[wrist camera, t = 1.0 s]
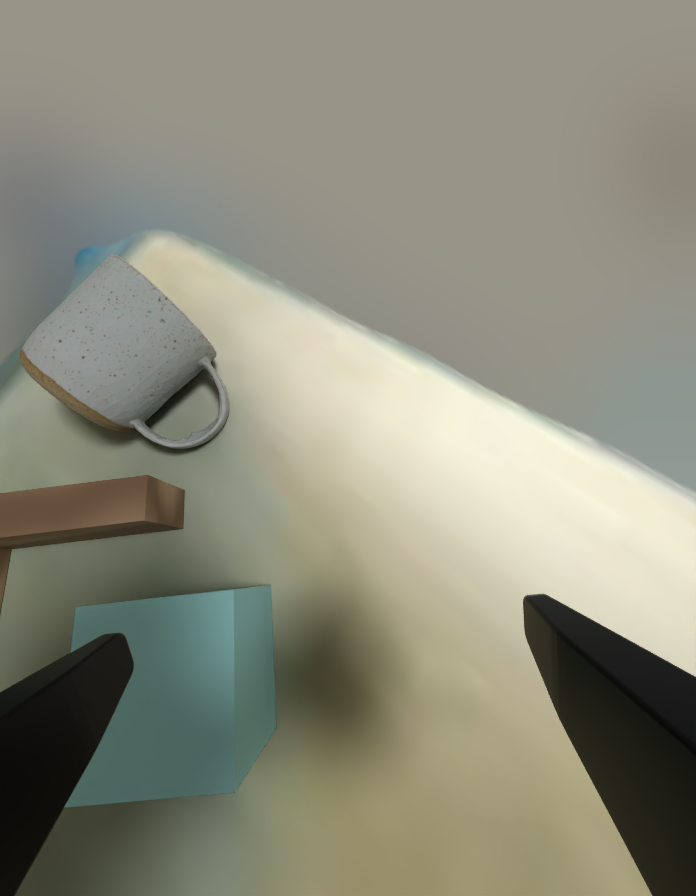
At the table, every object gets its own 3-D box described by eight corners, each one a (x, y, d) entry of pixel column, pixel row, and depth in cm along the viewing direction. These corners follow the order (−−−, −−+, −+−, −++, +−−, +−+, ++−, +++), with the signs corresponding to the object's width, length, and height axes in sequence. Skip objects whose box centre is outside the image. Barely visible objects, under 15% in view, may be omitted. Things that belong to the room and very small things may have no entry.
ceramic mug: (80, 392, 26) (-31, 326, 19) (165, 314, 28) (92, 226, 21) (178, 484, 24) (93, 449, 17) (265, 394, 26) (222, 325, 18)
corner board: (172, 841, 18) (118, 913, 14) (-90, 863, 19) (-210, 939, 15) (184, 490, 24) (147, 475, 20) (-18, 515, 24) (-92, 504, 20)
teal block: (276, 727, 19) (234, 792, 14) (145, 739, 20) (51, 808, 14) (271, 584, 22) (233, 589, 16) (154, 597, 22) (75, 606, 16)
